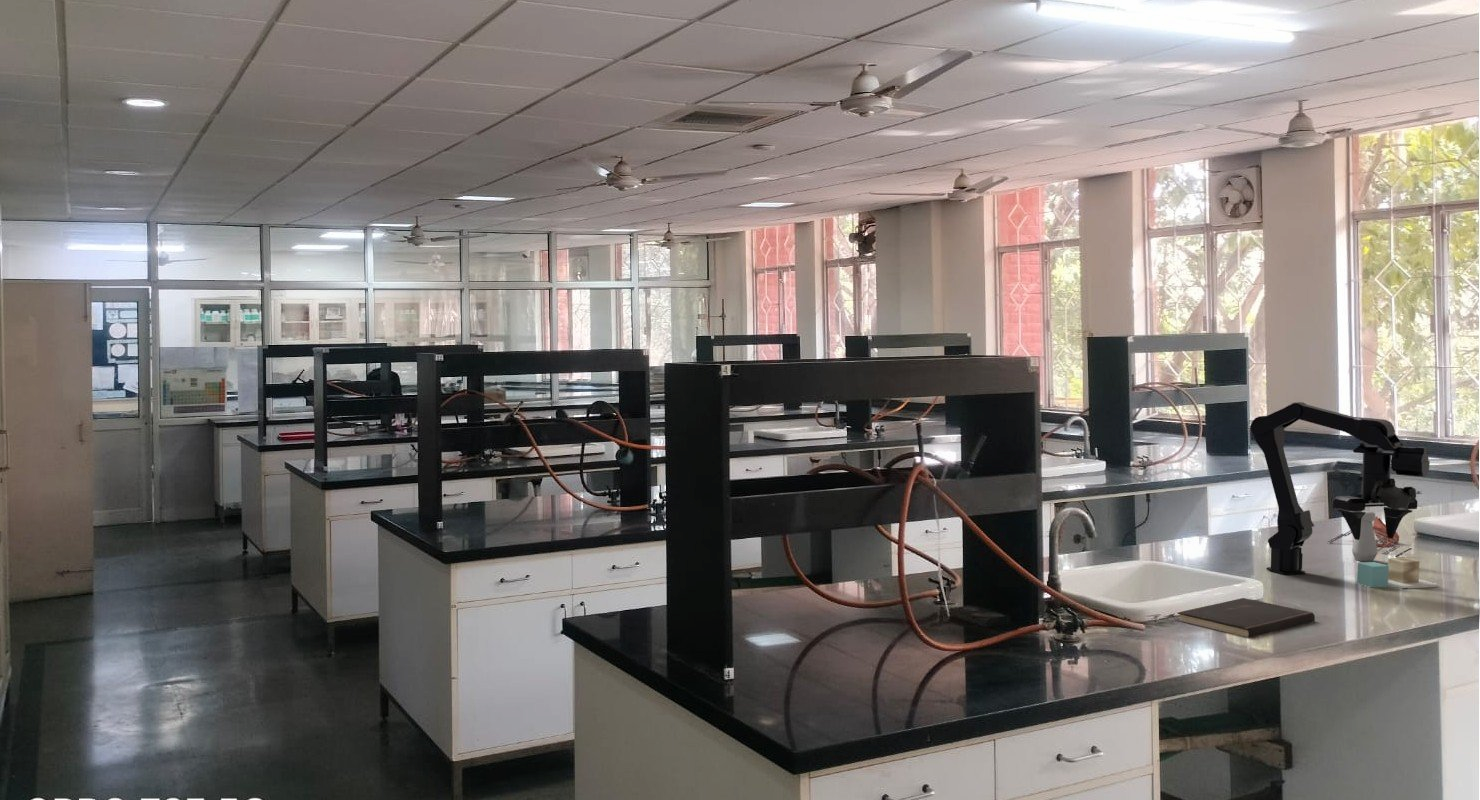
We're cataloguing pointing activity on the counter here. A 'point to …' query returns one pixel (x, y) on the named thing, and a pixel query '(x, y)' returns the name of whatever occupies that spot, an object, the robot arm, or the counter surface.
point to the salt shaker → (1366, 540)
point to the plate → (1412, 584)
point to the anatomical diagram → (1380, 536)
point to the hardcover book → (1246, 617)
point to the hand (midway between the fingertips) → (1373, 538)
